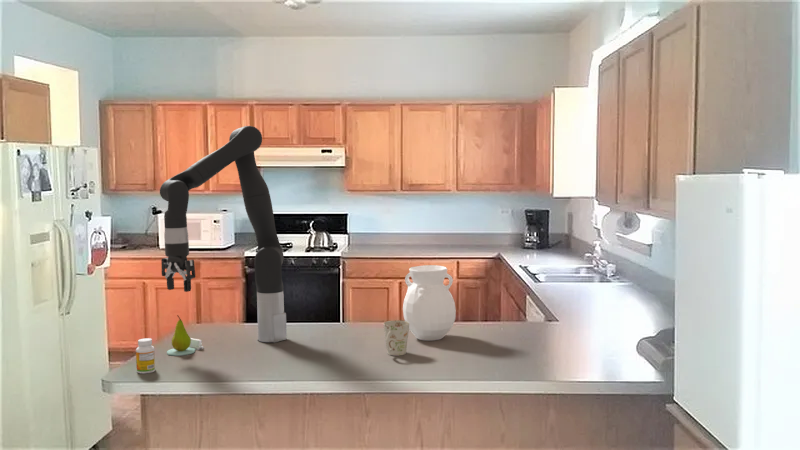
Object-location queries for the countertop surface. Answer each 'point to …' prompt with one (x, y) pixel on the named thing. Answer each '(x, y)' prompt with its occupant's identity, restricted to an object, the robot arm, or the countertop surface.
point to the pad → (180, 352)
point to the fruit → (180, 337)
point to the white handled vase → (429, 302)
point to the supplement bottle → (145, 356)
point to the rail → (196, 344)
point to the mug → (396, 337)
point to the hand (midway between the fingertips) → (179, 290)
